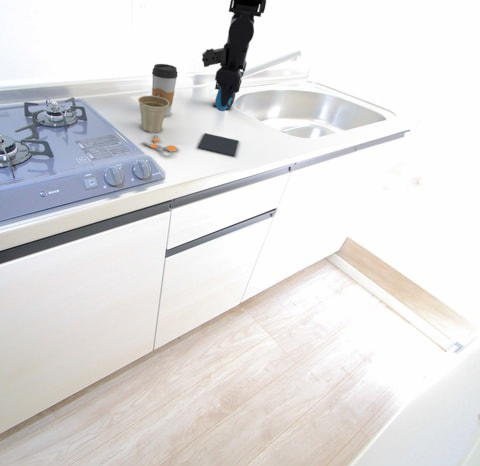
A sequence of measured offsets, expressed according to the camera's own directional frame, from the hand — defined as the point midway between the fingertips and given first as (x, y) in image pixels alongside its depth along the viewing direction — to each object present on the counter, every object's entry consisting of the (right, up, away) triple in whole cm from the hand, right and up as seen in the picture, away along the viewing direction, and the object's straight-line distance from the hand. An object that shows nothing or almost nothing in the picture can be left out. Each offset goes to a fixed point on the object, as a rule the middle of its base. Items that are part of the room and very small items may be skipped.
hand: (225, 102), depth 94 cm
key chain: (-19, -12, +1) cm, 23 cm away
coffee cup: (-19, +4, +21) cm, 29 cm away
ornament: (0, -2, +2) cm, 3 cm away
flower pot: (-22, -4, +10) cm, 24 cm away
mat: (-1, -10, +7) cm, 13 cm away
